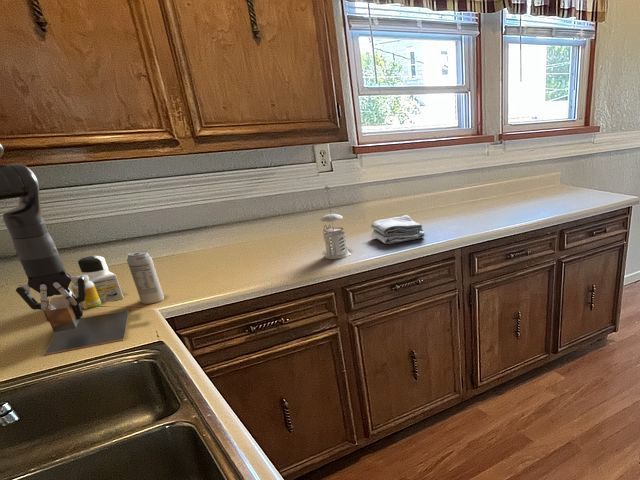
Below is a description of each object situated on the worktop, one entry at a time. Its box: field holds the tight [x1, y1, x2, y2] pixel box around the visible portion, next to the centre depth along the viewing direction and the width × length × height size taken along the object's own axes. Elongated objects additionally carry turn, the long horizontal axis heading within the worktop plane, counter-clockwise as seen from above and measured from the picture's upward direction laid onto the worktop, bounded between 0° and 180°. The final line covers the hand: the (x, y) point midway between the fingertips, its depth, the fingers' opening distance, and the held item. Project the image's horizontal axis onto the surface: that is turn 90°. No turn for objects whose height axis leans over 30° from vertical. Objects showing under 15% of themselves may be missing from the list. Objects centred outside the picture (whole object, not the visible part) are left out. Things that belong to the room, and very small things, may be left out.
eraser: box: [45, 295, 79, 333], centre depth 129 cm, size 4×11×6 cm, turn 29°
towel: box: [370, 214, 425, 245], centre depth 213 cm, size 15×18×8 cm
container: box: [77, 255, 125, 303], centre depth 154 cm, size 8×8×13 cm
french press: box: [320, 185, 351, 260], centre depth 188 cm, size 10×12×25 cm
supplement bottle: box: [71, 273, 103, 310], centre depth 148 cm, size 5×5×10 cm
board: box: [43, 309, 129, 357], centre depth 134 cm, size 16×24×1 cm, turn 29°
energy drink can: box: [126, 250, 165, 305], centre depth 150 cm, size 6×6×15 cm
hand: (66, 320), depth 130 cm, fingers closed on eraser, 4 cm apart
